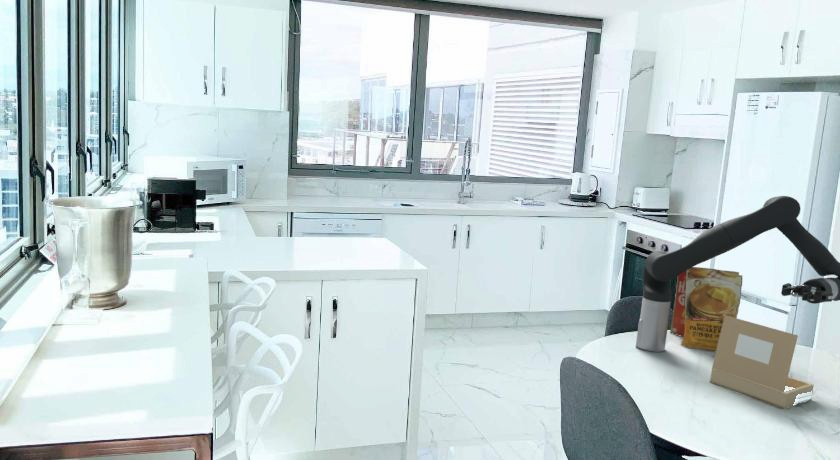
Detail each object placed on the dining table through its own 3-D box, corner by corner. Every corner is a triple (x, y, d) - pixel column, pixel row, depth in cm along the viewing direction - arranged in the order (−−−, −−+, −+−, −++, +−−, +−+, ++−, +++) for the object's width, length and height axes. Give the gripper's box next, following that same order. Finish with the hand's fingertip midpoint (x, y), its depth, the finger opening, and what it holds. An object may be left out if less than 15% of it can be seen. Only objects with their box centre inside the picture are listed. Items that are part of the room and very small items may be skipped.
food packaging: (668, 333, 260) (677, 267, 256) (678, 329, 267) (687, 265, 263) (704, 342, 251) (714, 274, 247) (714, 338, 258) (723, 272, 254)
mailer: (738, 374, 218) (740, 360, 217) (811, 399, 200) (813, 384, 199) (709, 382, 208) (712, 367, 207) (783, 409, 191) (786, 393, 190)
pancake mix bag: (674, 341, 249) (685, 264, 245) (731, 349, 245) (743, 271, 241) (677, 346, 243) (688, 268, 239) (735, 354, 239) (747, 274, 235)
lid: (725, 315, 206) (724, 315, 206) (797, 335, 189) (797, 335, 189) (712, 367, 207) (711, 367, 206) (783, 392, 190) (783, 392, 190)
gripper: (798, 273, 222) (771, 277, 212) (846, 283, 211) (820, 287, 201) (794, 296, 223) (767, 301, 213) (842, 307, 212) (816, 313, 202)
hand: (793, 294), depth 207 cm, fingers open, 5 cm apart
